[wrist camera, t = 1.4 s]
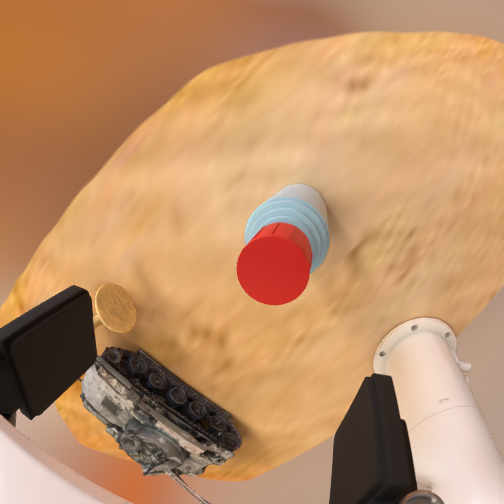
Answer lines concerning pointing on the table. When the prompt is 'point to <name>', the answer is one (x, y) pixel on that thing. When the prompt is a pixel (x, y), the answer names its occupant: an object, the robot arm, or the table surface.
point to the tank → (157, 416)
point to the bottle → (295, 217)
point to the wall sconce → (114, 309)
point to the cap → (275, 264)
